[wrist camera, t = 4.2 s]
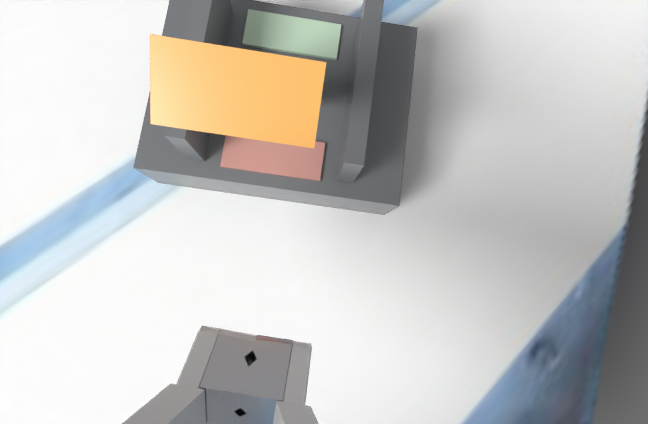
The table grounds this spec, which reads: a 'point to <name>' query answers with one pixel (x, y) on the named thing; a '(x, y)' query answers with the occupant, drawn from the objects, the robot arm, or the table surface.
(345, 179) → the grey switch base
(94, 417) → the table surface
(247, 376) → the robot arm
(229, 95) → the breaker lever
